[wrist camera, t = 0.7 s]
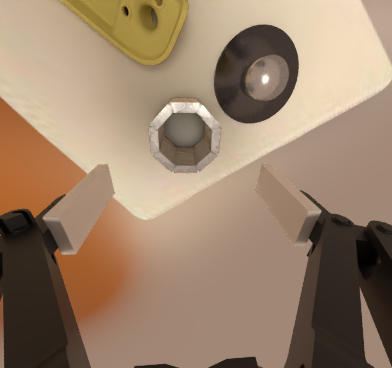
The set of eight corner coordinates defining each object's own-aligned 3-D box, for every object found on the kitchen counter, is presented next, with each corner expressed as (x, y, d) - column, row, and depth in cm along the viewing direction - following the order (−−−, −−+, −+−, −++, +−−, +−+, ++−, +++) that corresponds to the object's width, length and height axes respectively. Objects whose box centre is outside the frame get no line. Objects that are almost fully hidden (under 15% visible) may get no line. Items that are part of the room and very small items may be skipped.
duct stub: (217, 23, 26) (225, 9, 21) (308, 27, 27) (336, 15, 22) (211, 122, 33) (216, 128, 28) (283, 123, 34) (300, 129, 29)
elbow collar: (155, 97, 30) (145, 101, 22) (213, 98, 31) (223, 103, 23) (159, 153, 35) (153, 172, 27) (209, 153, 36) (217, 172, 28)
